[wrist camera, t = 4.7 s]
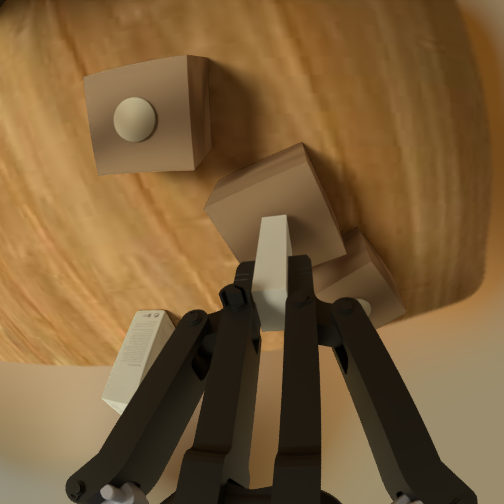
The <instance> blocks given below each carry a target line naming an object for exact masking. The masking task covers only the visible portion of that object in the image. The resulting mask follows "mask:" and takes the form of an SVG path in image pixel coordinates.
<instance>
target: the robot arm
mask: <svg viewBox="0 0 504 504" xmlns="http://www.w3.org/2000/svg"><path fill="white" fill-rule="evenodd" d="M4 1H5V0H0V6H1V5H2V3H3V2H4ZM235 275H236V276H235V279H234V283H233V284H229V285H227V286H225V287H224V288H223V289H221V291H220V292H219V296H220V299H221V302H222V304H223V309H221V310H220V311H217V312H214V313H211V314H208V315H207V313H206V312H205V311H203V310H192V311H189V312H188V313H186V314H185V315H184V316H183V317H182V319H181V320H180V322H179V323H178V325H177V327H176V328H175V330H174V331H173V333H172V334H171V336H170V338H169V339H168V341H167V342H166V344H165V345H164V347H163V349H162V350H161V352H160V353H159V355H158V356H157V358H156V360H155V361H154V363H153V364H152V366H151V368H150V369H149V371H148V372H147V374H146V376H145V377H144V379H143V380H142V382H141V384H140V385H139V387H138V389H137V390H136V392H135V393H134V395H133V397H132V398H131V400H130V402H129V403H128V405H127V406H126V408H125V410H124V411H123V413H122V415H121V417H120V418H119V420H118V421H117V423H116V425H115V426H114V428H113V430H112V431H111V433H110V435H109V436H108V438H107V440H106V441H105V443H104V445H103V446H102V448H101V450H100V451H99V453H98V454H97V455H96V456H94V457H93V458H92V459H91V460H90V461H89V462H87V463H86V464H85V465H84V466H83V467H81V468H80V469H79V470H78V471H77V472H75V473H74V474H73V475H72V476H70V478H69V479H68V480H67V483H66V493H67V495H68V497H69V499H70V500H71V501H73V502H75V503H77V504H149V502H148V500H147V499H146V495H147V494H148V493H149V492H150V491H151V490H152V488H153V487H154V486H155V484H156V483H157V481H158V480H159V478H160V476H161V475H162V473H163V471H164V469H165V467H166V465H167V463H168V461H169V460H170V458H171V456H172V454H173V452H174V450H175V448H176V446H177V444H178V442H179V440H180V438H181V436H182V434H183V432H184V430H185V428H186V426H187V424H188V422H189V420H190V418H191V416H192V415H193V413H194V410H195V408H196V406H197V404H198V403H199V401H200V399H201V397H202V394H203V392H204V391H205V392H204V396H203V401H202V406H201V410H200V415H199V419H198V424H197V429H196V434H195V438H194V443H193V446H192V447H191V448H190V449H188V450H187V451H186V453H185V454H184V457H183V460H182V465H181V470H180V474H179V479H178V484H177V489H176V491H175V492H174V493H173V494H171V495H170V496H169V497H168V498H166V499H165V500H164V501H163V502H161V503H160V504H342V503H341V502H340V501H339V500H338V499H337V498H335V497H334V496H333V495H331V494H329V493H327V492H325V491H323V490H321V400H320V399H321V398H320V372H319V352H318V345H323V346H329V347H332V350H333V352H334V355H335V357H336V360H337V362H338V365H339V367H340V370H341V372H342V375H343V377H344V379H345V382H346V385H347V387H348V390H349V392H350V395H351V397H352V400H353V402H354V405H355V408H356V410H357V413H358V415H359V418H360V421H361V423H362V426H363V428H364V431H365V434H366V437H367V439H368V442H369V445H370V447H371V450H372V453H373V456H374V459H375V461H376V464H377V467H378V470H379V473H380V476H381V478H382V481H383V483H384V486H385V488H386V490H387V492H388V494H389V495H390V497H391V498H392V500H393V502H392V503H391V504H478V503H477V496H476V495H475V493H474V491H472V490H471V489H470V488H469V487H468V486H467V485H466V484H465V483H464V482H463V481H462V480H461V479H460V478H458V477H457V476H456V475H455V474H454V473H453V472H452V471H451V470H450V469H449V468H448V467H447V466H446V465H445V464H444V463H443V462H441V460H440V458H439V456H438V453H437V451H436V448H435V446H434V444H433V442H432V440H431V437H430V435H429V433H428V431H427V429H426V427H425V424H424V422H423V420H422V418H421V416H420V414H419V412H418V410H417V408H416V405H415V404H414V402H413V399H412V397H411V395H410V393H409V391H408V389H407V387H406V386H405V384H404V382H403V380H402V378H401V376H400V374H399V372H398V370H397V368H396V367H395V364H394V362H393V361H392V359H391V357H390V355H389V353H388V351H387V350H386V348H385V346H384V344H383V342H382V340H381V339H380V337H379V335H378V333H377V331H376V330H375V328H374V326H373V324H372V323H371V321H370V319H369V317H368V316H367V314H366V312H365V310H364V309H363V307H362V305H361V304H360V302H359V301H358V300H356V299H354V298H351V297H343V298H339V299H337V300H336V301H335V302H334V303H327V302H323V301H321V300H319V299H318V298H317V297H316V295H315V293H314V284H313V274H312V264H311V259H310V258H309V257H308V255H307V254H305V255H296V256H292V248H291V241H290V235H289V228H288V222H287V216H286V215H278V216H270V217H262V221H261V228H260V235H259V242H258V248H257V255H256V260H254V261H244V262H241V263H240V265H239V266H238V267H237V270H236V274H235ZM260 327H261V329H262V332H265V331H281V330H284V356H283V357H284V358H283V380H282V398H281V415H280V431H279V446H278V453H277V455H276V458H275V464H274V475H273V486H270V487H265V488H259V489H252V490H251V489H249V483H250V474H249V468H248V467H249V456H250V448H251V447H250V446H251V439H252V430H253V421H254V411H255V402H256V392H257V382H258V372H259V362H260V352H261V341H262V340H261V335H260Z"/></svg>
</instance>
